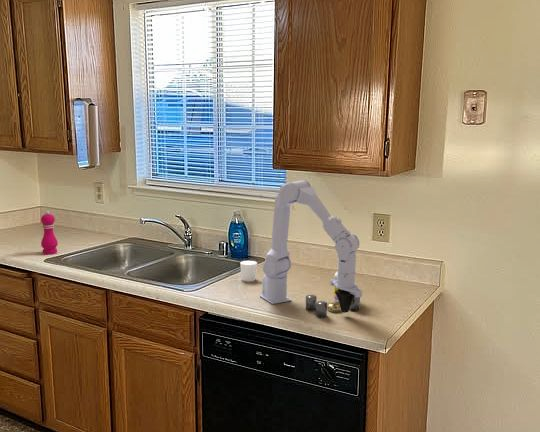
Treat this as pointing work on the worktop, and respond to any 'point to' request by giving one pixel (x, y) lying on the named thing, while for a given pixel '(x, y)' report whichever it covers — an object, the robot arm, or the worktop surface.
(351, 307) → the grey metal cylinder
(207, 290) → the worktop surface
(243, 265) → the white cylinder
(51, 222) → the pepper mill
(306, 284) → the worktop surface
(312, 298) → the spacer near
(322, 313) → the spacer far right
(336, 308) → the nut
